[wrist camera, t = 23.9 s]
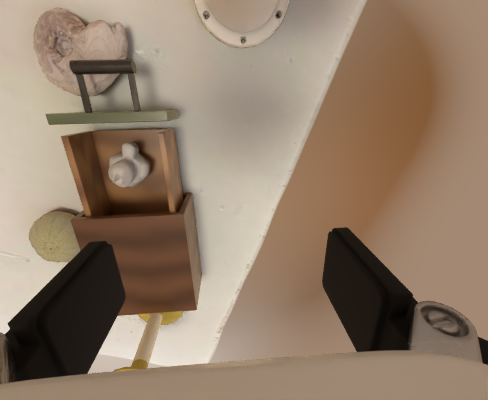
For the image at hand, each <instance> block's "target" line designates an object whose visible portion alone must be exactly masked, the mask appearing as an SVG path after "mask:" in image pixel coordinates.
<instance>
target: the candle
mask: <svg viewBox="0 0 488 400" xmlns="http://www.w3.org/2000/svg"><path fill="white" fill-rule="evenodd" d="M182 312H183V311H176V312H162V313H148V314H138V315H139V317H140V318H141V319H143V320H144V321H146V322H147V325H146V328H145V330H144V333H143V336H142V338H141V341H140V344H139V347H138V349H137V352H136V355H135V358H134V360H133V363H132V366H131V367H123V368H120V369H117V370H114V371H126V370H137V369H147V366H148V363H149V360H150V357H151V353H152V350H153V347H154V344H155V340H156V337H157V334H158V331H159V327H160V325H166V324H169V323H173V322H174V321H176V320H177V319H178V318H179V317H180V316H181V314H182ZM114 371H113V372H114Z"/></svg>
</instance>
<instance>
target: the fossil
mask: <svg viewBox="0 0 488 400" xmlns="http://www.w3.org/2000/svg"><path fill="white" fill-rule="evenodd" d="M34 49H35V52H36V54H37V57H38V60H39V64H40V66H41V67H42V70H43V72H44V74H45V75H46V77H47V78H48V80H49V81H50V82H52V83H53V84H55V85H57V86H58V87H59V88H61V89H63V90H65V91H68V92H71V93H73V94H74V95H78V96H81V93H80V89H79V86H78V82H77V78H76V75H75V74H73V72H72V71H71V69H70V66H69V62H70V60H110V59H126V57H127V52H128V42H127V38H126V32H125V29H124V27H123V25H122V24H121V23H119V22H116V23H115V25H114V26H110V25H108V24H107V23H106V22H105V21H103V20H98V21H94V22H91V23H90V24H88V25H87V27H86V26H85V25H84V24H83V22H82V21H81V20H80V19H79V18H78V17H76V16H75V15H73V14H71V13H70V12H68V11H66V10H63V9H62V8H53V9H52V10H50V11H47V12H45V13H44V14H42V15H41V17H40V18H39V20H38V22H37V24H36V27H35V31H34ZM83 76H84V80H85V84H86V88H87V92H88V96H92V95H93V96H95V95H97V94H99V93H101V92H102V91H104V90H105V89H106V88H107V87H109V86H110V85H111V84H112V83H113V81H114V80H115V78H116V77H118V76H119V74H88V75H83Z"/></svg>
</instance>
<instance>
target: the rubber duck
mask: <svg viewBox="0 0 488 400" xmlns="http://www.w3.org/2000/svg"><path fill="white" fill-rule="evenodd" d="M109 166H110V167H109V170H108V174H109V177H110V179H111V180H112V181H113V183H115V184H116V185H118V186H120V187H127V186H130V187H132V186H135V185H137V184H138V183H140V182H141V181H142V180H144V179H146V178H147V177H148V175H149V173H150V167H151V163H150V161H149V160H147V159H145V158H144V156H142V155H140V154H139V147H138V145H137V144H135V143H125V144H123V145H122V152H120V153H118V154H115V155H113V156H111V157H110V164H109Z"/></svg>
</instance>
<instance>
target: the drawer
mask: <svg viewBox="0 0 488 400" xmlns="http://www.w3.org/2000/svg"><path fill="white" fill-rule="evenodd" d="M69 66H70V69H71V71H72V72H73V74H75V75H76V78H77V82H78V86H79V89H80V93H81V97H82V101H83V105H84V109H85V112H76V113H57V114H46V117H47V120H48V123H49V125H55V124H88V123H121V122H154V121H170V120H173V119H177V118H178V110H143V111H141V110H140V104H139V99H138V93H137V88H136V82H135V76H134V74H135V73H136V66H135V63H134V61H133V60H132V59H110V60H70V62H69ZM88 74H128V79H129V84H130V89H131V95H132V100H133V105H134V111H108V112H92V108H91V104H90V100H89V96H88V92H87V88H86V84H85V80H84V76H83V75H88ZM61 138H62V141H63V144H64V147H65V151H66V154H67V157H68V160H69V164H70V167H71V170H72V173H73V176H74V180H75V183H76V186H77V189H78V193H79V196H80V199H81V202H82V205H83V209H84V212H85V215H86V217H94V216H114V215H134V214H154V213H174V212H179V210H180V208H181V206H182V204H183V193H182V185H181V178H180V170H179V163H178V155H177V148H176V140H175V133H174V128H166V129H135V130H103V131H86V132H81V133H76V134H70V135H65V136H61ZM125 143H135V144H137V145H138V147H139V154H140V155H142V156H144V158H145V159H147V160H149V161H150V163H151V167H150V173H149V175H148V177H147V178H146V179H144V180H142V181H141V182H140V183H138V184H137V185H135V186H132V187H130V186H127V187H120V186H118V185H116V184H115V183H113V181H112V180H111V179H110V177H109V174H108V170H109V167H110V166H109V164H110V157H111V156H113V155H115V154H118V153H120V152H122V145H123V144H125Z"/></svg>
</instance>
